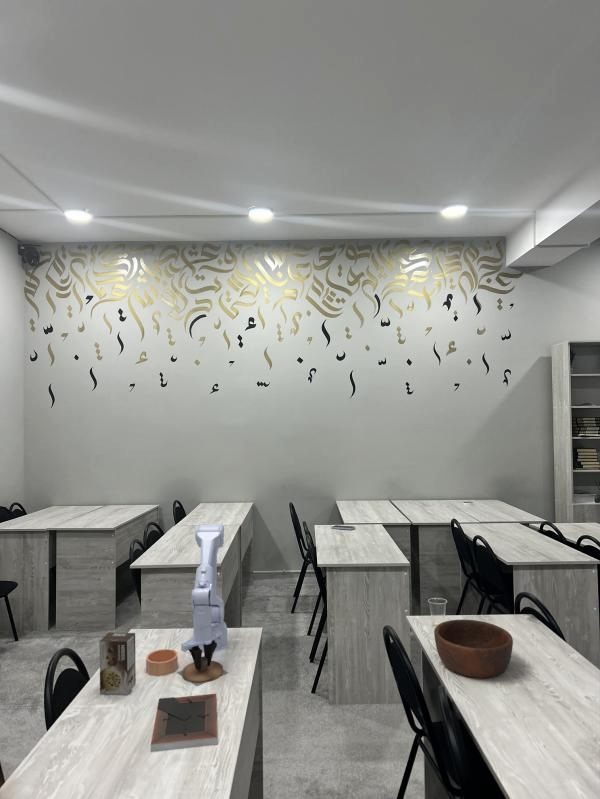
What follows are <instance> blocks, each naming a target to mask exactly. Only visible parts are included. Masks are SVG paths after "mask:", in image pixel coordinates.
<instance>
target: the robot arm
mask: <svg viewBox="0 0 600 799" xmlns="http://www.w3.org/2000/svg"><path fill="white" fill-rule="evenodd" d="M194 532H195V534H194V535H195V536H194V538H195V541H196V544H197V546H198V548H200V565H199V566H198V567H197V568H196V571H195V572H196V573H195V580H194V581H195V582H194V587H193V588H192V590H191V600H190V602H191V607H192V608H191V609H192V610H191V611H192V612H193V637H192V638H190V639H188V640H187V641H186V642H184V643H181V645H180V647H181V649H180V650H181V652H184V653H186V652H188V651H189V653H190V655H191V657H192V661H193V662H194V664H195V668H196V669H197V670H200V669H201V657H202V654H203V655H204V656H203V657H207V666H210V663H211V661H212V660H213V659H212V658H213V656H214V653H216V652H219V651H221V650H224V649H226V648H229V644H228V626H227V624H226V622H225V621H224V620H225V606H224V604H225V603H224V600H223V598H221V596H219V595H217V577H218V576H217V572H218V570H217V569H218V552H219V549H220V548H222V547H224V542H225V540H224V538H225V528H224V525H223V524H203V525H202V524H197V526H196V527H195V531H194Z"/></svg>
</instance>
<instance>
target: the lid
mask: <svg viewBox="0 0 600 799" xmlns="http://www.w3.org/2000/svg"><path fill="white" fill-rule="evenodd" d="M223 670H224V668H223V664H221V663H220V662H218V661H216V660H211V663H210V666H207V657H204V656H201V669H200V670H197V669H196V668H195V664H194V661H193V662H190V663H188V664H186V665H185V666H184V667H183V668H182V670H181V671H182V676H181V677H182V678H183V680H185V681H186V682H189V683H191V682H194V683H203V682H206V683H208V682H213V681H214V680H217V679H218V678H220V677H222V676H221V675H222V673H223ZM203 684H204V683H203Z"/></svg>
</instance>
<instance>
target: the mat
mask: <svg viewBox="0 0 600 799" xmlns="http://www.w3.org/2000/svg"><path fill="white" fill-rule="evenodd" d="M176 674H178V675H179V676H181V677H182V670H180V671H179V670H178V671H177V672H176ZM227 674H229V672H228V671H226V670H225V669H223V673H222V675H221V676H220V677H222V676H224V675H227ZM190 683H192V684H193V685H194V686H195V687H198V686H200V685H203V684H205V683H207V682H203V683H194V682H190Z"/></svg>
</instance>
